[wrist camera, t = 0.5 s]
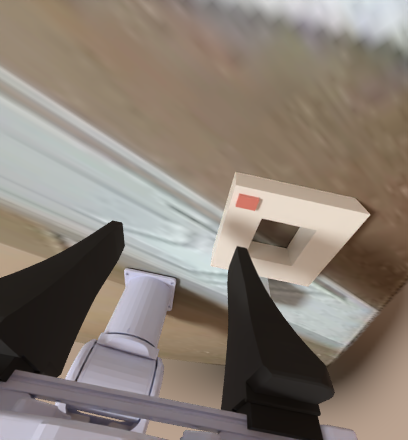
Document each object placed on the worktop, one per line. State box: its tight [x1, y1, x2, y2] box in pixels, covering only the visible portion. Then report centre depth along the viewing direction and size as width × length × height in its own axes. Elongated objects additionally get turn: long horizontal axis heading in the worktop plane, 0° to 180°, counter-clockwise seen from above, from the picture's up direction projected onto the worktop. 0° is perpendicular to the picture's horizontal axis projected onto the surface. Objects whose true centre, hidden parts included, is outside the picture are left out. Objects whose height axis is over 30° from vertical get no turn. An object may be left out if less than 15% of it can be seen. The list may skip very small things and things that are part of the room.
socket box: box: [211, 172, 370, 286], centre depth 22 cm, size 11×12×3 cm
